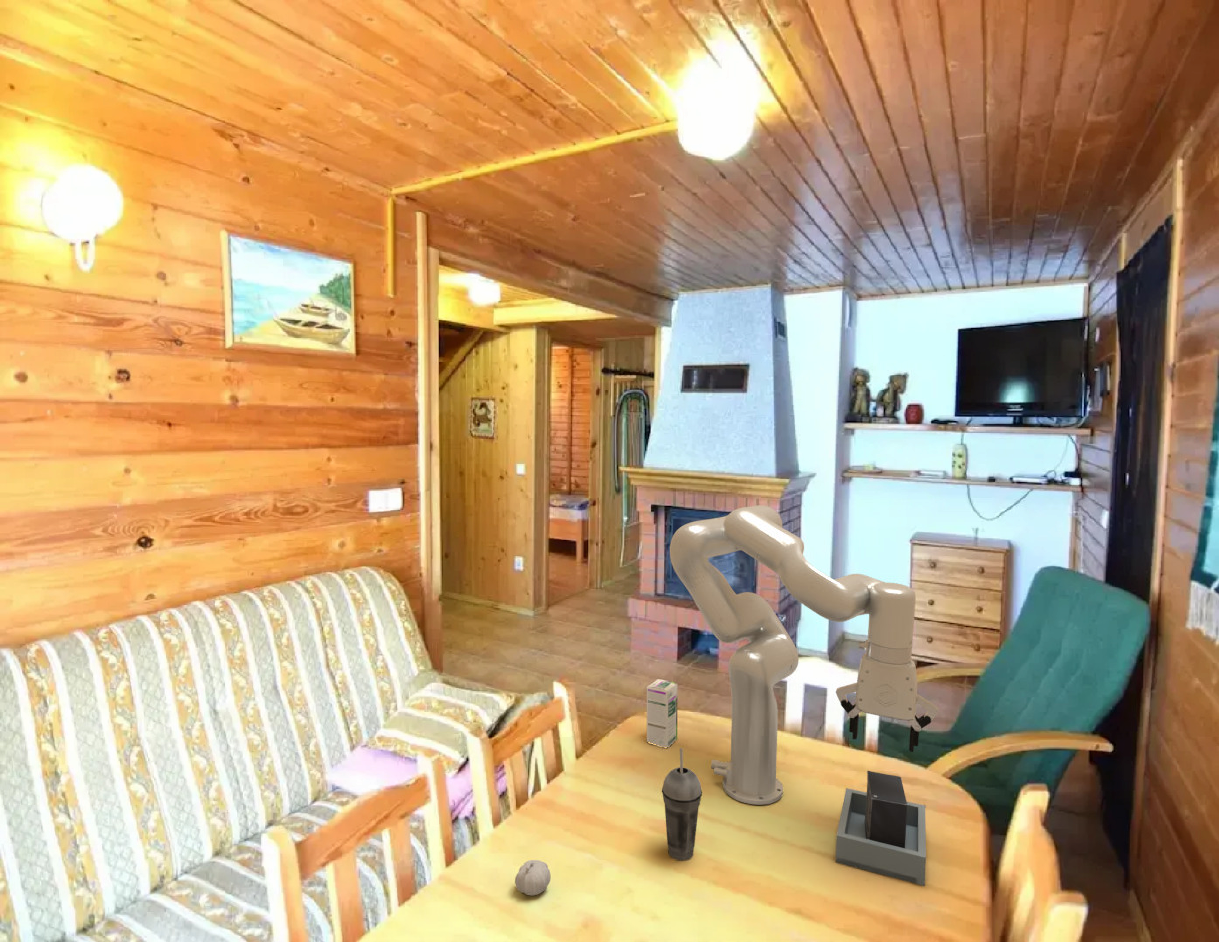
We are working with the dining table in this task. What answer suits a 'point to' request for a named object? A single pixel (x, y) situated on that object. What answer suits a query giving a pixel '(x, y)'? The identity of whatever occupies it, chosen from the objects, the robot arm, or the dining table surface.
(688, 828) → the beverage cup
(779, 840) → the dining table surface
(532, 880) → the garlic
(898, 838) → the small box
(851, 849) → the crate
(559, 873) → the dining table surface
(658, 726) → the syrup box
